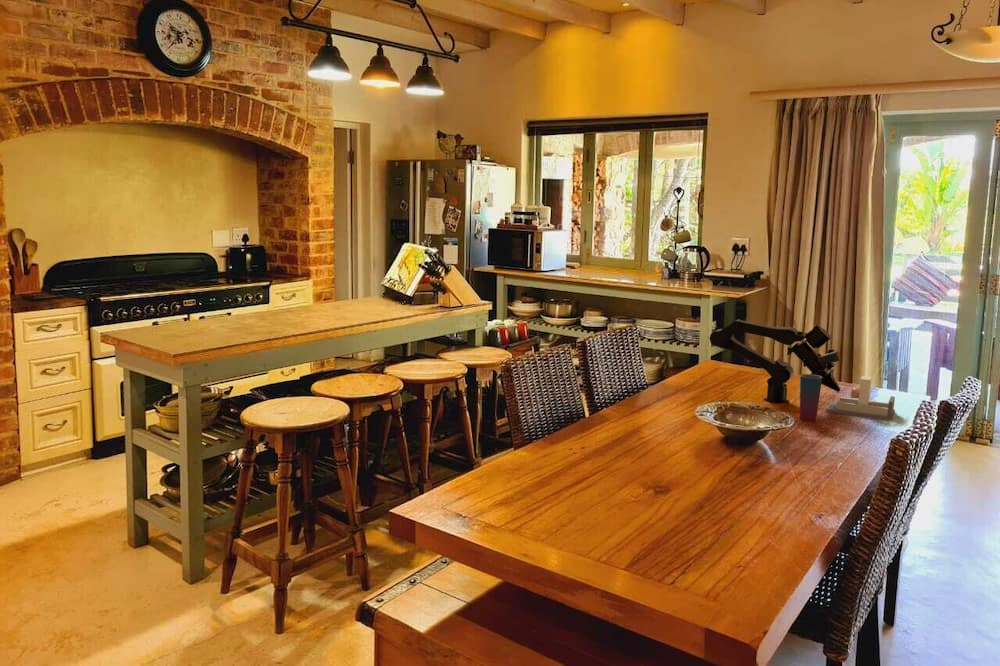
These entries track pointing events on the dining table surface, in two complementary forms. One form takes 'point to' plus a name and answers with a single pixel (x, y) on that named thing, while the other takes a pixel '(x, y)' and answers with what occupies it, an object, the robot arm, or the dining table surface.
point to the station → (863, 408)
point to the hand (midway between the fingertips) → (839, 390)
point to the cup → (809, 396)
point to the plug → (862, 391)
